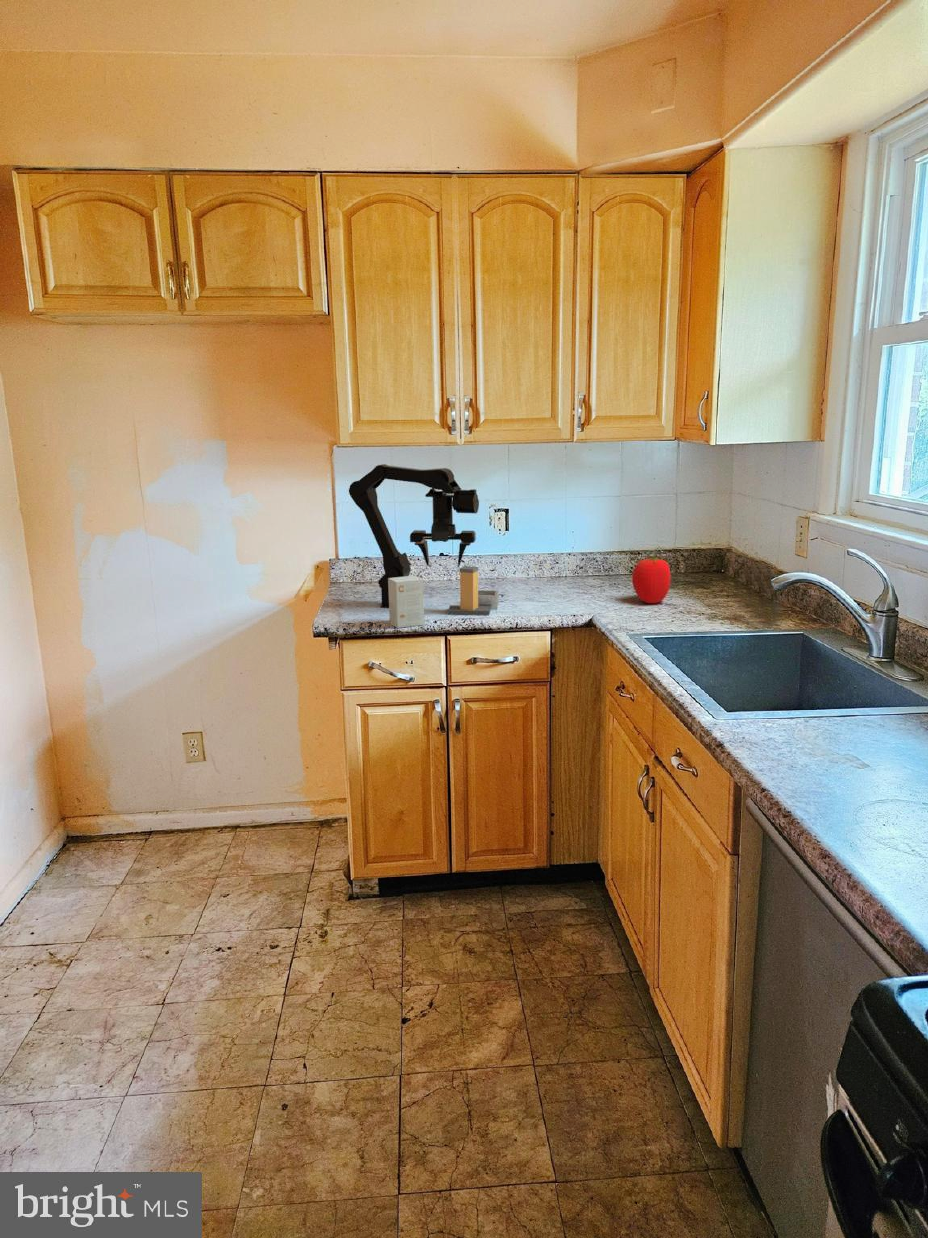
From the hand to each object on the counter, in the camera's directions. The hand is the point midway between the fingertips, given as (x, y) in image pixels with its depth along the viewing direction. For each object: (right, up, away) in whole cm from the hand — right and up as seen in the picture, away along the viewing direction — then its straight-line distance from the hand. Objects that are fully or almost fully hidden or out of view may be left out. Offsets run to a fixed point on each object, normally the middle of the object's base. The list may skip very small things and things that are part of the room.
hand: (443, 565), depth 246 cm
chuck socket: (+12, -12, +6) cm, 18 cm away
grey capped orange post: (+8, -13, -2) cm, 15 cm away
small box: (-10, -17, -14) cm, 24 cm away
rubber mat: (+8, -14, -1) cm, 16 cm away
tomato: (+63, -11, +10) cm, 65 cm away
